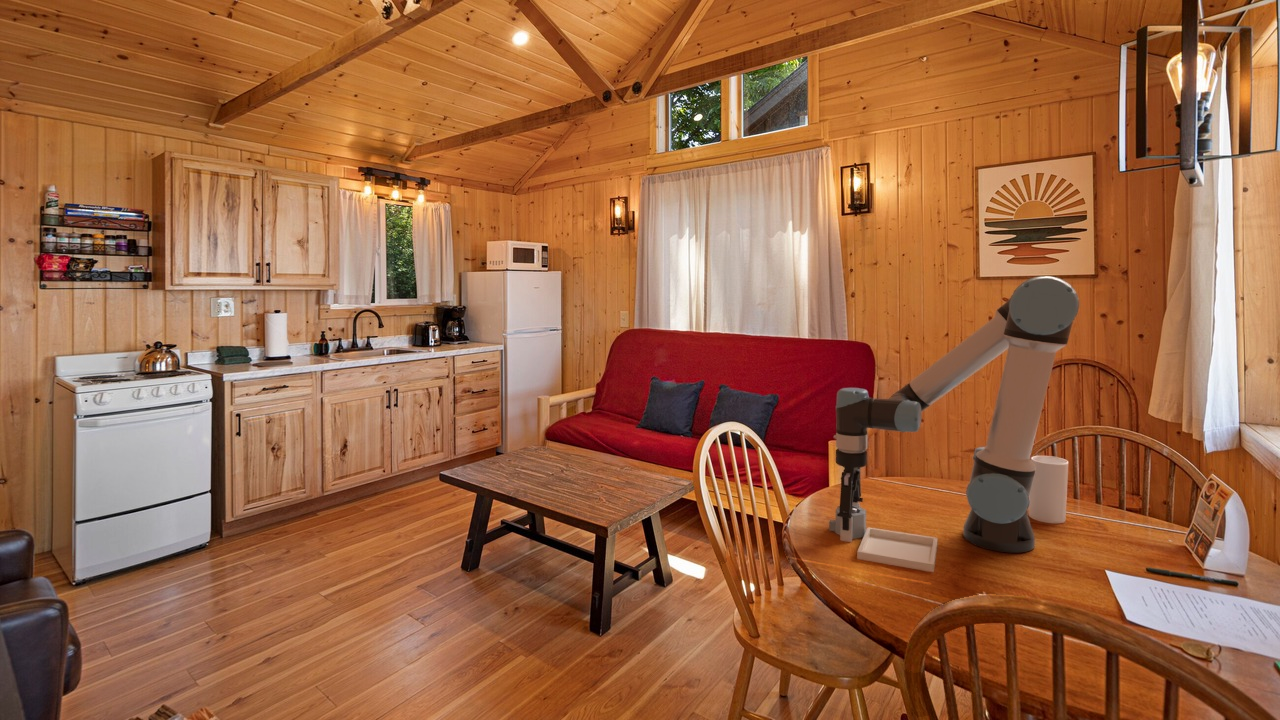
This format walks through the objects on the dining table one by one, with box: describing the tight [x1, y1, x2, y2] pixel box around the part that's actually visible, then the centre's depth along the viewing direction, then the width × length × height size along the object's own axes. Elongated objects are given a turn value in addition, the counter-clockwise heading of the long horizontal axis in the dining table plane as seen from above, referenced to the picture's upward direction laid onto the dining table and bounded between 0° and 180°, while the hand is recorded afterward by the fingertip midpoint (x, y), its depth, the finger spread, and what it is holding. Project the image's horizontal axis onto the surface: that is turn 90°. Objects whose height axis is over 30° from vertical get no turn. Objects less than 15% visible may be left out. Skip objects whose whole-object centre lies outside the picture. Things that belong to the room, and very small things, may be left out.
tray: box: [856, 526, 938, 574], centre depth 143 cm, size 16×16×2 cm
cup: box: [1028, 455, 1069, 524], centre depth 162 cm, size 8×8×16 cm
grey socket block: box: [828, 505, 867, 540], centre depth 155 cm, size 9×7×6 cm
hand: (850, 533), depth 155 cm, fingers open, 10 cm apart
